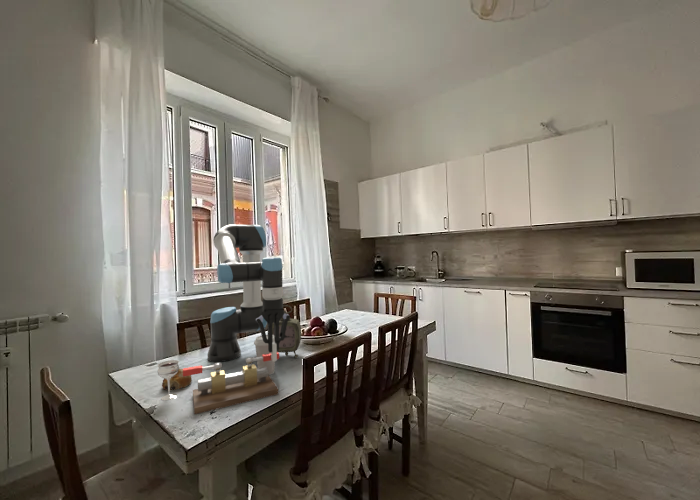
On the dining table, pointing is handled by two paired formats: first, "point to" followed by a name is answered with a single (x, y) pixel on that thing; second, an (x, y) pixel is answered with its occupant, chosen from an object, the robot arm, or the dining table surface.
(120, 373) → the dining table surface
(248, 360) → the valve lever
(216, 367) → the valve lever
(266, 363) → the coffee cup
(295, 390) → the dining table surface
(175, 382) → the bread roll
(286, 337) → the tabletop clock
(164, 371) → the wineglass
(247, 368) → the manifold pipe
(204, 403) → the valve board
